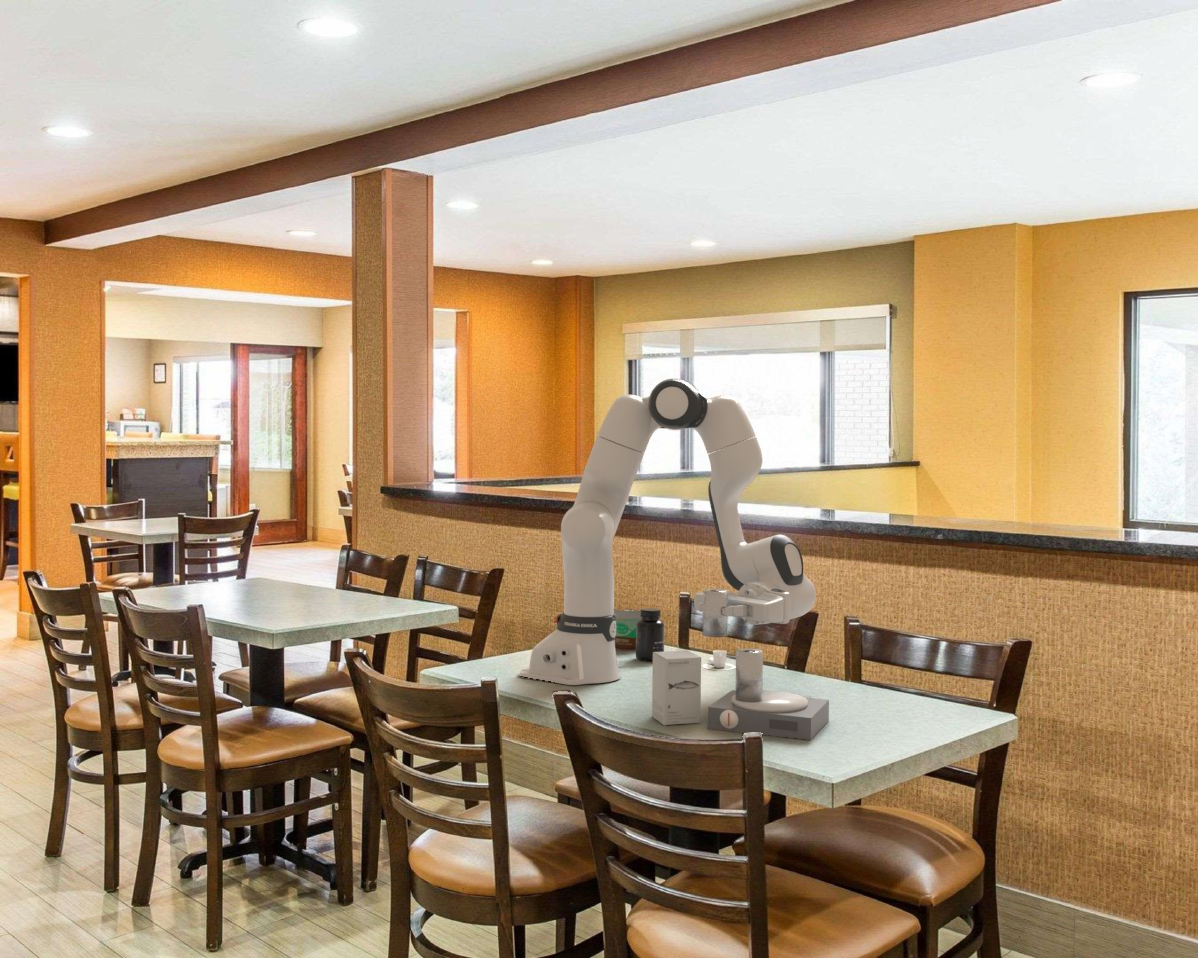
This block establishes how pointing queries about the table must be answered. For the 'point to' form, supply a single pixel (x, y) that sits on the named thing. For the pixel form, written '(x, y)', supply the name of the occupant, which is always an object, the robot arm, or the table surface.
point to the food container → (626, 629)
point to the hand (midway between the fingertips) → (712, 609)
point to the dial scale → (770, 715)
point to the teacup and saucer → (718, 660)
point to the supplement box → (676, 687)
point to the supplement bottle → (649, 634)
